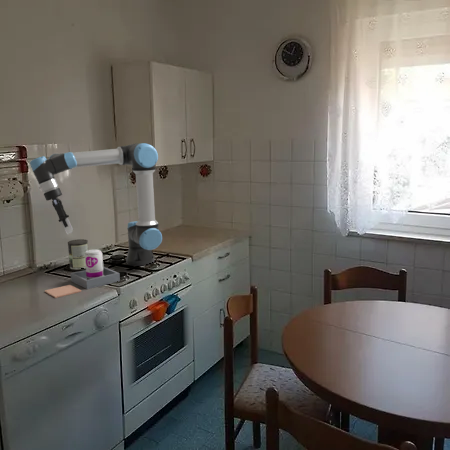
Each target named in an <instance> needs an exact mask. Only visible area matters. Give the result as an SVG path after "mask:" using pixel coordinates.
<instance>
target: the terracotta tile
mask: <svg viewBox="0 0 450 450" xmlns="http://www.w3.org/2000/svg"><path fill="white" fill-rule="evenodd" d="M81 292H82V290H81V289H79V288H78V287H75V286H74V285H71V284H67V285H63V286H58V287H54V288H49V289H46V290H44V293H46V294H48V295H49V296H51V297H53V298H55V299H57V298H61V297H62V298H63V297H65V296H70V295H73V294H78V293H81Z"/></svg>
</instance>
